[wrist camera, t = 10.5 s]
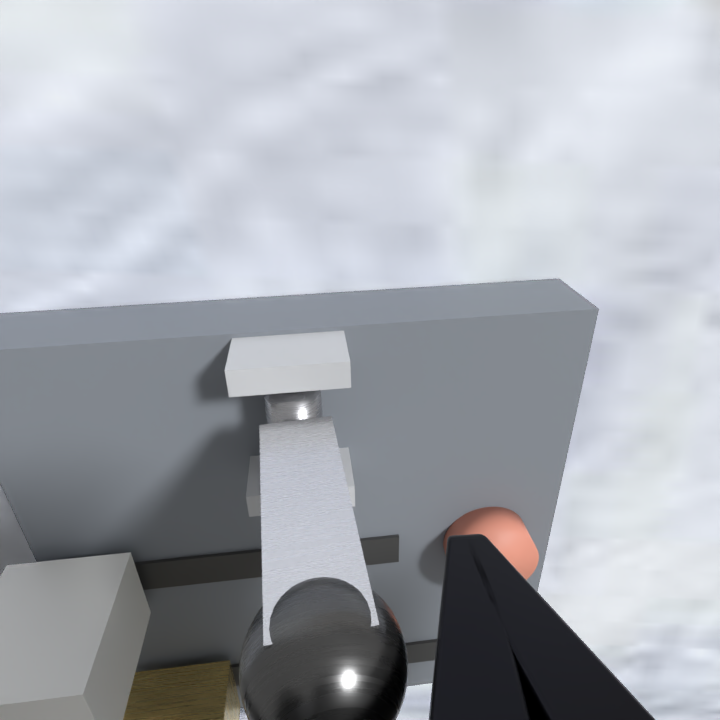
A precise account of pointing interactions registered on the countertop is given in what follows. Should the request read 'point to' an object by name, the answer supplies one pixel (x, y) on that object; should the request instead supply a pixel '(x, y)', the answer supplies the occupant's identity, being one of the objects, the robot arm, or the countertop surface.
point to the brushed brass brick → (184, 693)
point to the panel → (247, 411)
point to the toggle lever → (315, 585)
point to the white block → (70, 637)
